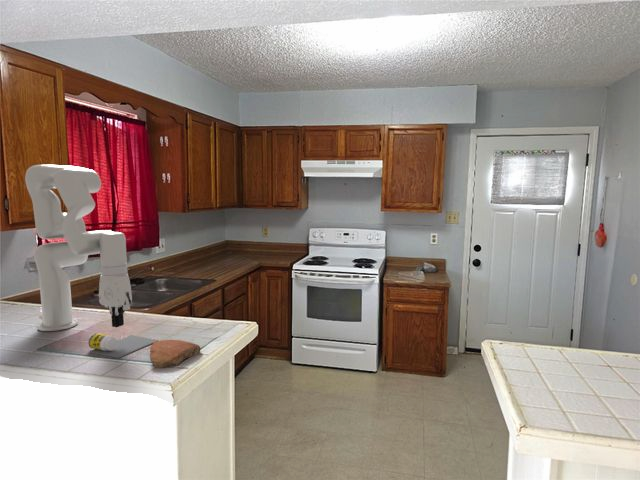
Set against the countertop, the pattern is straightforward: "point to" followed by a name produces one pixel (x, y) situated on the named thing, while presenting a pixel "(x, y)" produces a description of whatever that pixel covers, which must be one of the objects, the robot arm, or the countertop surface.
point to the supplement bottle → (102, 342)
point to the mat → (126, 346)
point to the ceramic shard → (171, 352)
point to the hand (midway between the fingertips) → (118, 325)
